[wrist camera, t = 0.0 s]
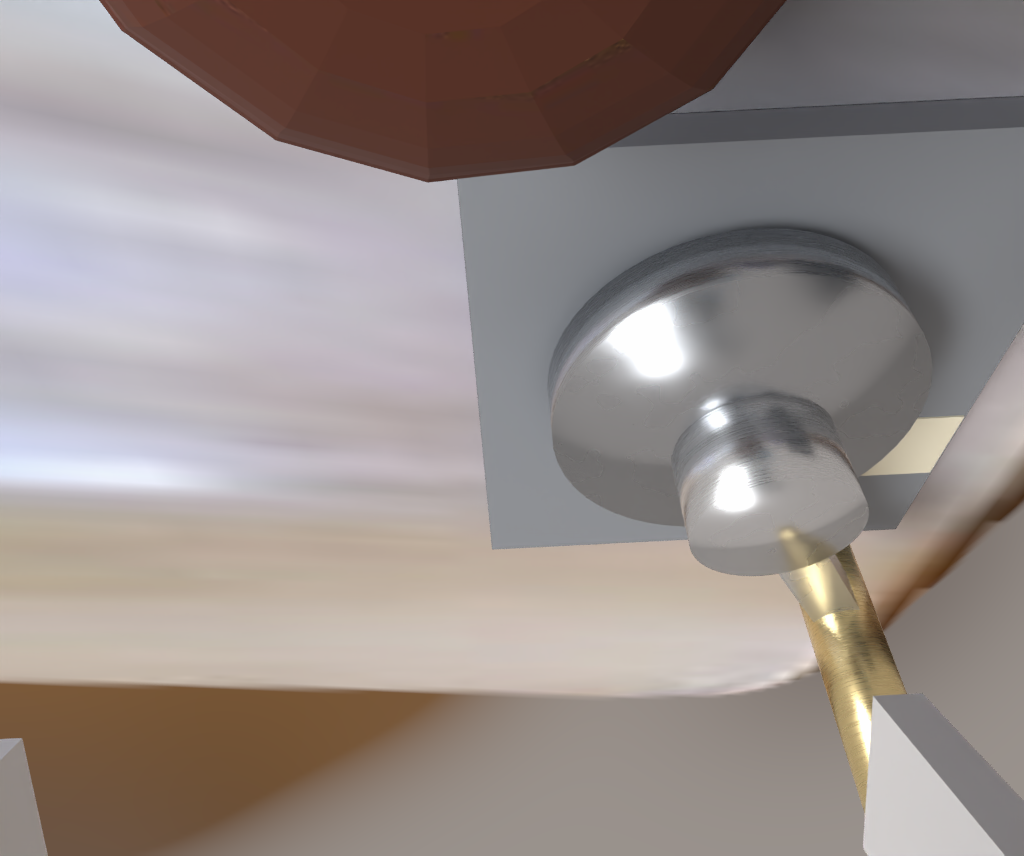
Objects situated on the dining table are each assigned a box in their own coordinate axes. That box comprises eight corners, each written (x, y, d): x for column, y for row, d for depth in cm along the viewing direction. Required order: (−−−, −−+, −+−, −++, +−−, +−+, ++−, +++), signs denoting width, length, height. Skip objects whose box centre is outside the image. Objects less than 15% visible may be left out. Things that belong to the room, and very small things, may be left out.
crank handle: (479, 341, 23) (485, 711, 16) (858, 153, 19) (1104, 540, 11) (686, 570, 33) (747, 854, 26) (957, 483, 29) (1117, 792, 22)
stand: (455, 124, 20) (454, 156, 19) (1115, 92, 20) (1150, 122, 19) (491, 519, 33) (492, 550, 32) (883, 499, 33) (896, 530, 32)
